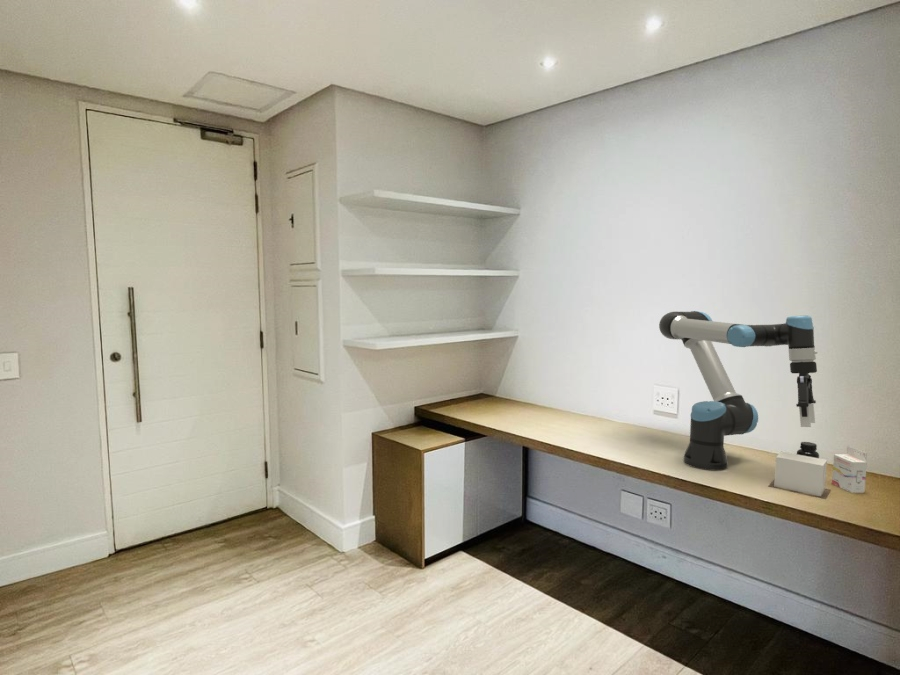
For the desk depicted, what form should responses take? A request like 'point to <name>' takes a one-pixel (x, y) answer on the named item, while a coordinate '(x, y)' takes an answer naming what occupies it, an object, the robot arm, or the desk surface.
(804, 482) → the block
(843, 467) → the ink cartridge box
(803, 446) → the supplement bottle
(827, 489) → the pin board
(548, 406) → the desk surface
